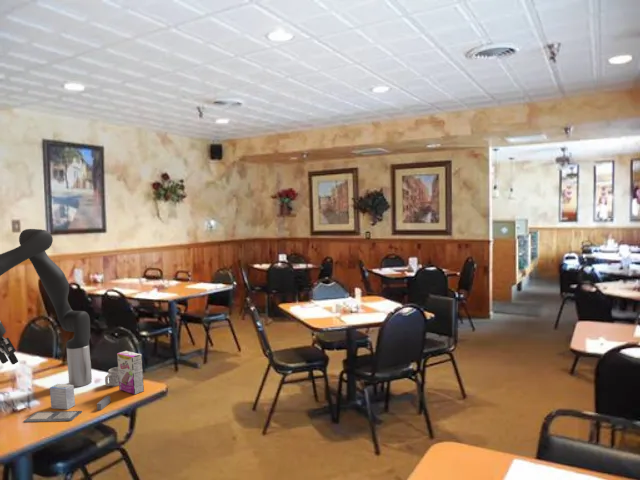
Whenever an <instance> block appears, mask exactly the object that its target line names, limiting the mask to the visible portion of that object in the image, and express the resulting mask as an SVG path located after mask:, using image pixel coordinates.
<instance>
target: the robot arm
mask: <svg viewBox="0 0 640 480" xmlns="http://www.w3.org/2000/svg"><path fill="white" fill-rule="evenodd" d="M53 238H54V237H53V235H52V234H51V233H50V232H49V231H48V230H45V229H39V228H38V229H37V228H25V229H24V230H22V231H21V232H20V233H19V237H18V242H19V246H17V247H15V248H13V249H10V250H8V251H5V252H2V253H0V277H1V276H3V275H5V273H7V272H8V271H10V270H11V269H13V268H14V267H16V266H18V265H20V264H21V263H24V262H25V261H27V260H29V261H30V263H31V264H32V267H33V268H34V270H35V272H36V274H37V276H38V278H39V280H40V282H41V284H42V286H43V288H44V290H45V292H46V294H47V296H48V297H49V299H50V300H49V301H50V302H51V304H52V306H53V309H54V312H55V314H56V316H57V319H58V322H59V324H60V327H61V328H62V329H63V330H64V331H65V332H73V333H74V334H73V337H72V338H70V339H68V340H67V341H66V343H65V346H66V347H65V348H66V358H67V360H66V362H67V374H68V385H74V388H76V387H78V388H79V387H83V386H87V385H90V384H91V383H92V380H93V379H92V378H93V377H92V376H93V375H92V362H91V353H90V352H91V351H90V339H91V318H90V315H89V313H88V312H87V311H85V310H73V309H72V308H71V305H70V303H69V300H68V299H69V298H68V297H69V292H70V284H69V281H68V279H67V276H66V274H65V273H64V271H63V269H61V268H60V266H59V265H57V264H56V263H55V262H54V261H53V260H52V259H51V258H50V256H49V255H48V253H47V252H46V251H47V250H49V249H50V248H51V246H52V245H53V241H54V239H53ZM6 332H7V330H6V327H5V326H4V325H3V323H2V321H1V320H0V363H1V364H6V363H7V362H10V364H11V365H15V364H17V363H19V359H18V358H17V356H16V354H15V352H16V351H17V350H16V348H15V346H14V345H13V343H12V341H11V340H10V338H9V337H6V338H5V337H4V335H5V334H6Z"/></svg>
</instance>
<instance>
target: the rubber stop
mask: <svg viewBox="0 0 640 480" xmlns="http://www.w3.org/2000/svg"><path fill="white" fill-rule="evenodd" d="M110 403H111V396H110V395H105V397H103V398H102V399H101V400H99V401H98V402H97V403H96V409H97V411H103V410H104V408H106V407H107V406H108V405H109V404H110Z"/></svg>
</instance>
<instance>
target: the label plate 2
mask: <svg viewBox="0 0 640 480" xmlns="http://www.w3.org/2000/svg"><path fill="white" fill-rule="evenodd" d="M82 413H83V410H61V411H60V410H59V412H58V413H56V414H55V415H54V416H52V417H51V418H50V419H48V420H47V421H48V422H72V421H73V420H74V419H75V418H77V417H78V416H79V415H80V414H82Z"/></svg>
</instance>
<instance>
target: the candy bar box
mask: <svg viewBox="0 0 640 480" xmlns="http://www.w3.org/2000/svg"><path fill="white" fill-rule="evenodd" d="M142 357H143V356H142V354H141V353H137V352H133V351H129V350H124V351H120V352H118V353H116V358H117V367H118V375H119V386H118V390H119V391H122V392H125V393H130V394H132V395H138V394H140V393H143V392H144V391H145V385H144V372H143V358H142Z"/></svg>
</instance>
